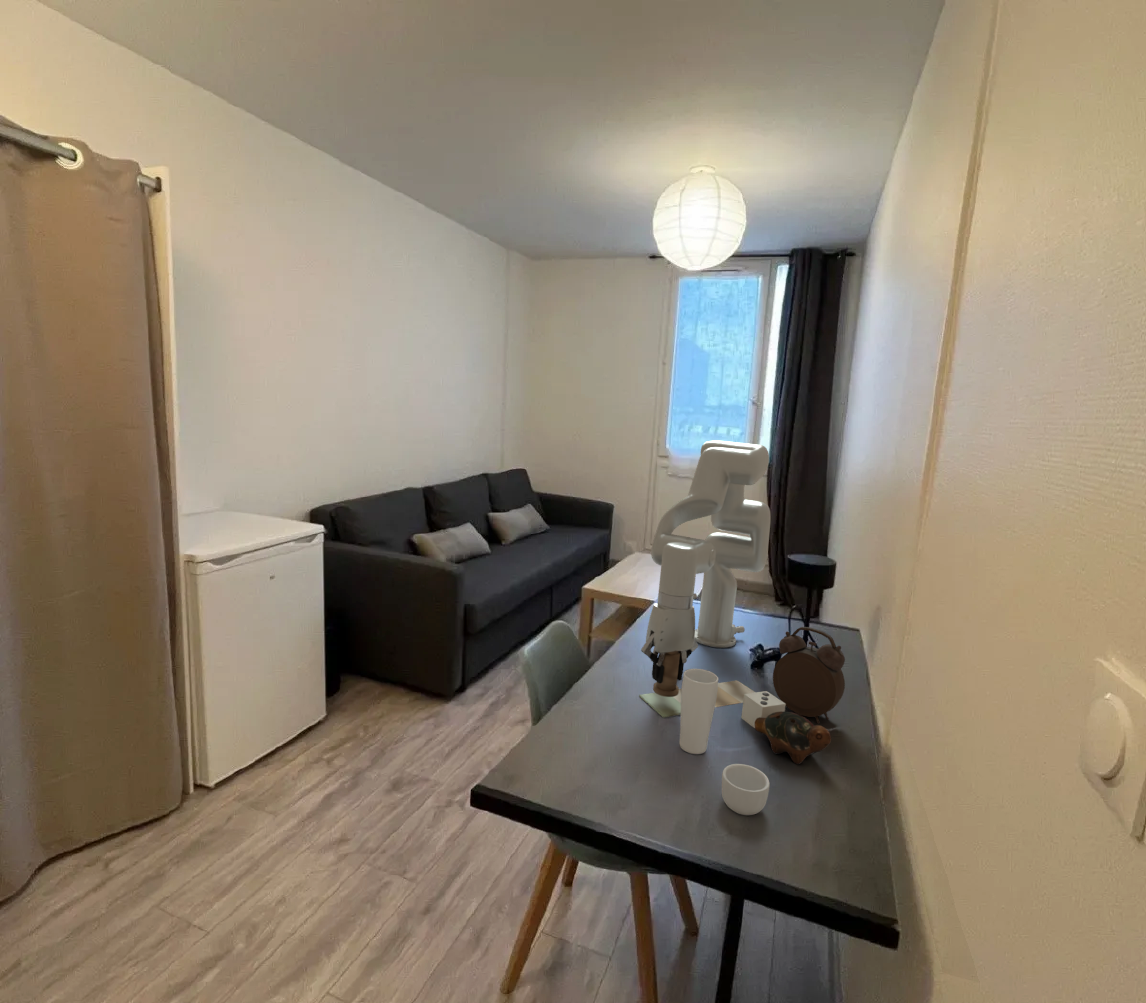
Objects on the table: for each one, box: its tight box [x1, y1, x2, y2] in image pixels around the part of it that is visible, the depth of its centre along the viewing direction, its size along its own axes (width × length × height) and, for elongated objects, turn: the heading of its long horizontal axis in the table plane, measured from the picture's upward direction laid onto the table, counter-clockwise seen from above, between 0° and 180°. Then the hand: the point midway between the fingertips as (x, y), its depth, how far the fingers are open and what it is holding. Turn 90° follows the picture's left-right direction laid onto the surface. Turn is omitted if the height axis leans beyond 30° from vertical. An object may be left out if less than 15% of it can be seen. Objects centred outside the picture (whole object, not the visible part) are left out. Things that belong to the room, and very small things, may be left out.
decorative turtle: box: [754, 711, 832, 765], centre depth 122 cm, size 10×15×8 cm, turn 50°
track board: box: [638, 679, 757, 719], centre depth 143 cm, size 28×10×1 cm, turn 115°
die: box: [741, 690, 786, 729], centre depth 132 cm, size 6×6×6 cm
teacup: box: [721, 763, 771, 816], centre depth 105 cm, size 10×8×5 cm
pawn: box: [652, 650, 680, 697], centre depth 137 cm, size 6×6×12 cm
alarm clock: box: [772, 626, 846, 724], centre depth 138 cm, size 14×7×20 cm, turn 47°
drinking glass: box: [678, 668, 719, 755], centre depth 120 cm, size 7×7×15 cm
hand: (666, 678), depth 137 cm, fingers closed on pawn, 4 cm apart
